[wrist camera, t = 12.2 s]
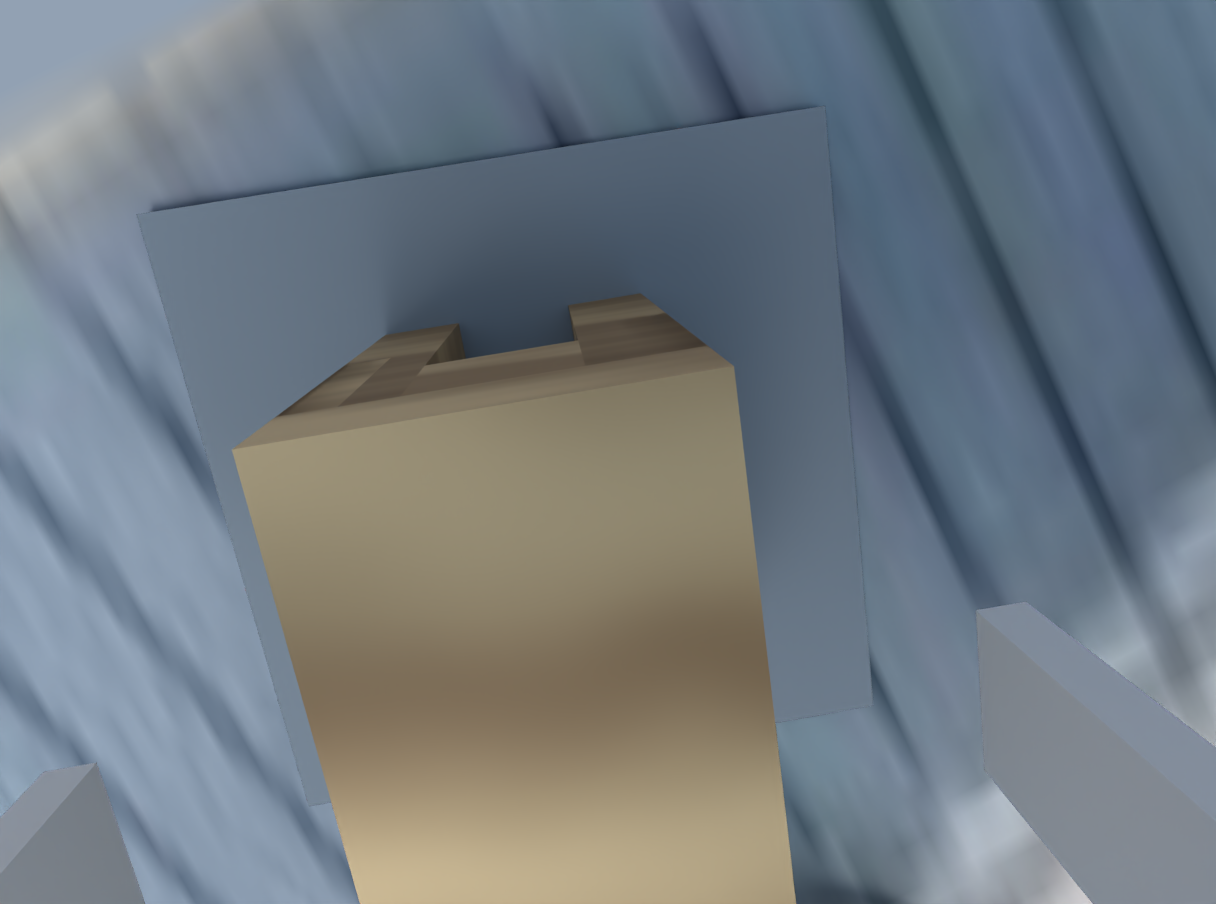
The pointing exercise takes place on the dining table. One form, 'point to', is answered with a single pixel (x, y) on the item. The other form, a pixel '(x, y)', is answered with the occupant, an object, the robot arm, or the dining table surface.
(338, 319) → the slate mat
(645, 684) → the notched wooden block
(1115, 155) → the dining table surface
